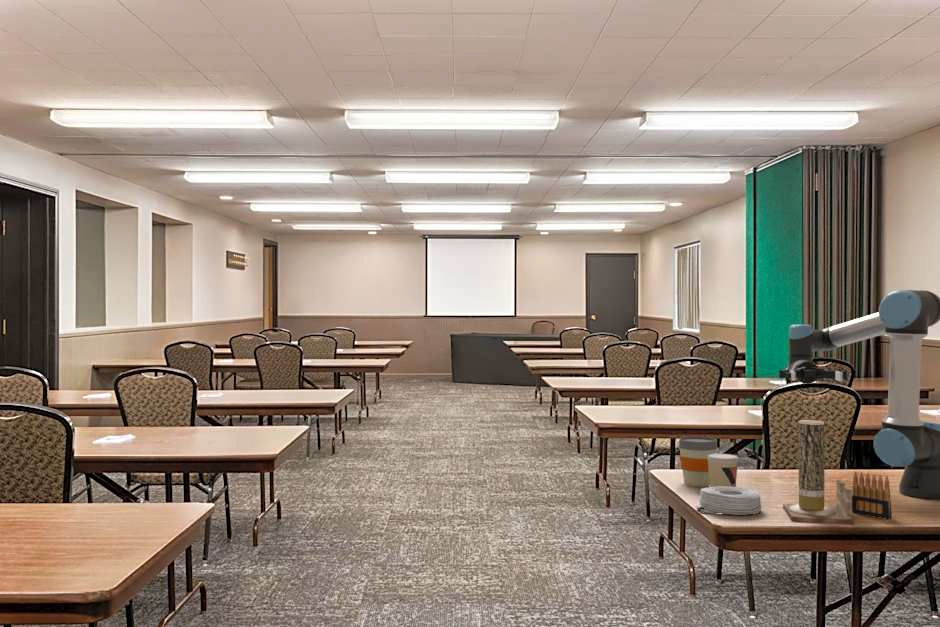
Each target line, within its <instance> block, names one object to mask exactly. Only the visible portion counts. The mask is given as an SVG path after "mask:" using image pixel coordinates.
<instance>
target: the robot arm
mask: <svg viewBox="0 0 940 627" xmlns="http://www.w3.org/2000/svg"><path fill="white" fill-rule="evenodd" d="M939 321H940V297H939V296H938V295H937V294H936V293H934V292H932V291H929V290H921V289H920V290H917V289H916V290H911V289H900V290H894V291H891V292H890V293H887V295H885V297H883V299H882V300H881V302H880V303H879V306H878V311H877V312H874V313H871V314H868V315H865V316H862V317H859V318H855V319H852V320H849V321H845V322H842V323H838V324H836V325H832V326H828V327H825V328H822V329H813V325H811V324H791V325H790V326H789V329H788V331H789V332H788V336H787V337H788V364H787V368H786V369H779V371H778V377H779V379H780V380H781V379H785V380H784V381H786V382H789V381H790V380H791V381H793V382H794V381H799V382H800V383H802V384H803V385H805V384H807V385H810V384H813V383H814V382H816V381H817V380H824V379H831V380H836V381H838V382H843V380H845V381H846V380H848V371H846V370H842V369H841V368H838V369H837V370H834V369H829V368H828V369H824V368H819V367H818V365H817V364H815V363H814V362H813V352H829V351H830V352H831V351H834V350H836V349H838V348H840V347H844V346H847V345H850V344H854V343H857V342H861V341H864V340H868V339H872V338H876V337H878V336H880V337H881V336H882V335H887V336H888V338H889V342H890V343H889V366H888V367H889V369H888V388H887V389H888V391H887V392H888V394H887V396H888V397H887V415H886V416H885V417H883V418H882V419H881V426H880V428H881V429H880V430H879V431H878V433H876V435H875V436H874V439H873V449H874V452H875V454H876V455H877V457H878V458H879V459H880V460H881V461H882V462H883V463H885V464H886V465H889V466H890V467H904V470H903V473H902V477H901V478H900V481H899V485H898V491H899V493H900V494H903V495H905V496H911V497H914V498H920V499H933V500H936V499H937V500H940V423H937V422H928V421H923V420H922V419H920V417H919V416H920V395H921V394H920V392H921V388H920V387H921V369H922V368H921V366H922V347H923V345H922V344H923V339H924V338H926V337H927V336H928V334H929V333H928V332H929V327H932V326H934V325H936V324H938V322H939Z"/></svg>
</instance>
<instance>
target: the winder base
mask: <svg viewBox="0 0 940 627" xmlns="http://www.w3.org/2000/svg"><path fill="white" fill-rule="evenodd" d="M852 495H853V488H851V487H850V486H849V485H846V483H845V482H844V481H843V480H842V479H836V505H824V509H823V510H821V511H808V510H804V509H801V508H800V507H799V503H783V504H782V508H783V510H784V509H785V510H784V511H785V513H786V515H787V516H788V517H790V518H789V519H790V521H791V520H792V521H791V522H801V521H811V522H810V523H821V522H825V523H824V524H840V523H849V524H848V525H854V524H855V519H854V518H853V513H852Z"/></svg>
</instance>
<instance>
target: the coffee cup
mask: <svg viewBox="0 0 940 627" xmlns="http://www.w3.org/2000/svg"><path fill="white" fill-rule="evenodd" d="M707 459H708V470H709V485H710V486H709V487H718V486H731V487H737V475H738V461H739V459H738V456H737V455H734V454H729V453H716V454H710V455H708V457H707Z"/></svg>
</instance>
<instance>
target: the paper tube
mask: <svg viewBox="0 0 940 627" xmlns="http://www.w3.org/2000/svg"><path fill="white" fill-rule="evenodd" d="M825 435H826V434H825V421H823V420H815V419H801V420H800V419H799V420H798V504H799V507H800V508H801V509H804V510H808V511H821V510H823V509H824V506H825V442H826V441H825Z"/></svg>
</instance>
